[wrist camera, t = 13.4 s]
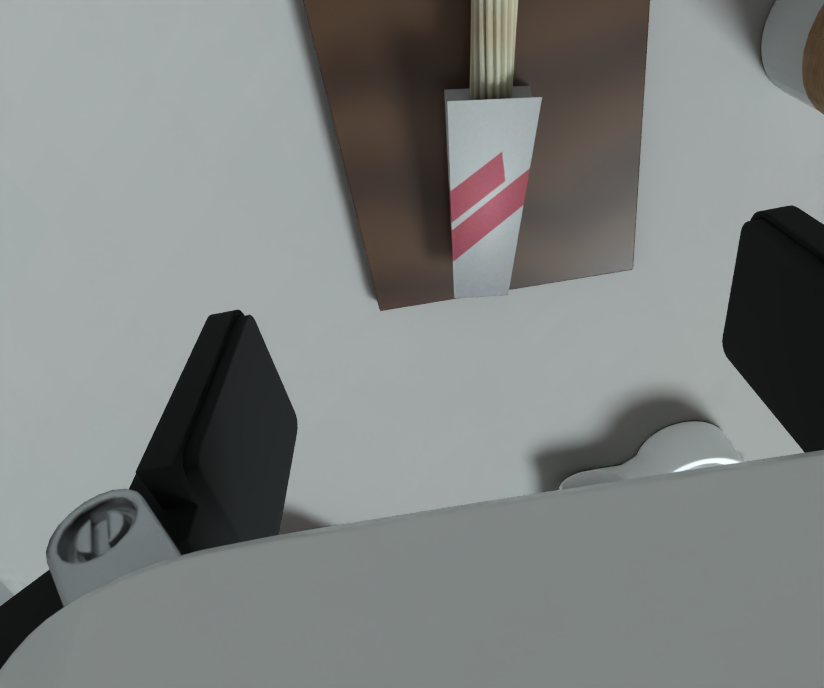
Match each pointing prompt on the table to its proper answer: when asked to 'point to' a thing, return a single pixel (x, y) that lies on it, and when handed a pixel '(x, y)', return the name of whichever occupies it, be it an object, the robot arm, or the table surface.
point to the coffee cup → (796, 49)
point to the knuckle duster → (667, 455)
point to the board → (427, 142)
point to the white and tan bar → (488, 154)
